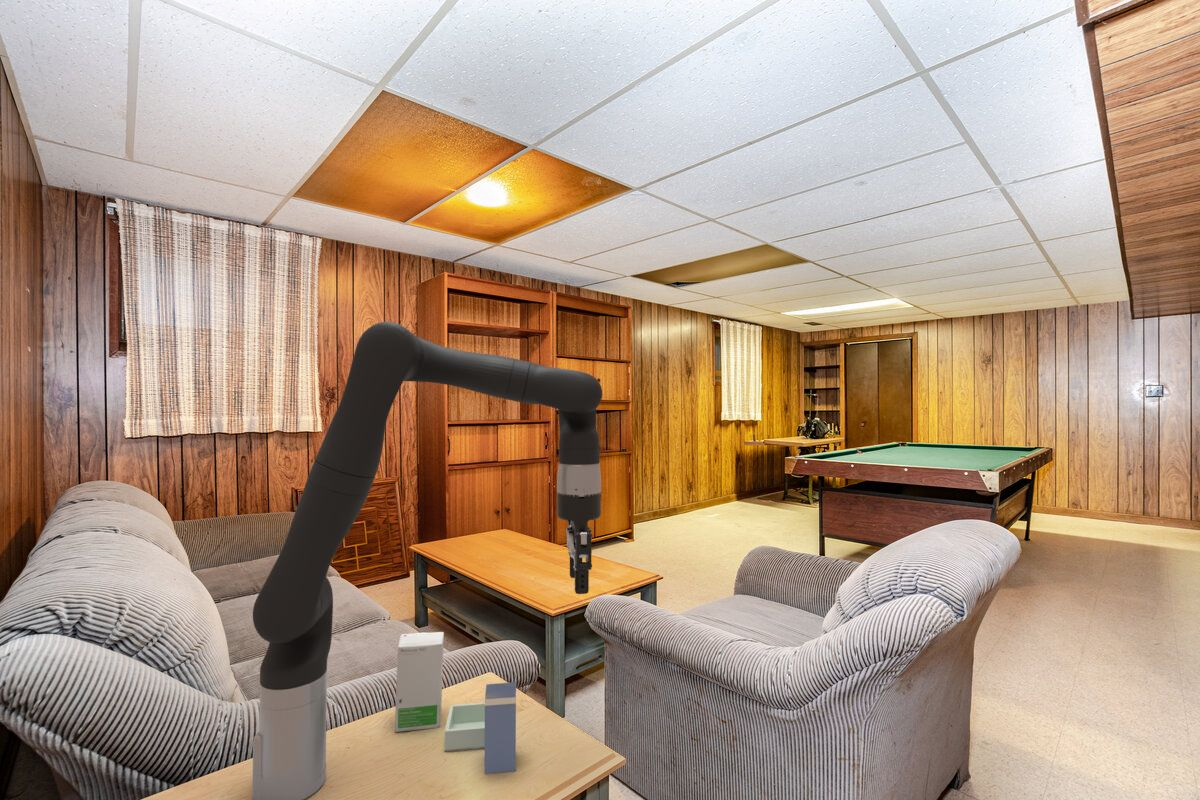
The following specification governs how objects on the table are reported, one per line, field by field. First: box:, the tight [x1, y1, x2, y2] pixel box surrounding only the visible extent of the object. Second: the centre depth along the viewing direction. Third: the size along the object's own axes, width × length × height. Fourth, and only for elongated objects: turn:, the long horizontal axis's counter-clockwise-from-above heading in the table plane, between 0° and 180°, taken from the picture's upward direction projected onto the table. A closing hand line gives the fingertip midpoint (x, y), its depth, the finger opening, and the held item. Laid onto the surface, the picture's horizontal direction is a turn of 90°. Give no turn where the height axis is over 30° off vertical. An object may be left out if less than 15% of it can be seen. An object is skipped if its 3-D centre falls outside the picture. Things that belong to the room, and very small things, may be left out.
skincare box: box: [394, 631, 445, 733], centre depth 104 cm, size 8×7×16 cm
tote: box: [444, 701, 485, 753], centre depth 99 cm, size 10×9×4 cm
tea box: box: [483, 681, 517, 775], centre depth 92 cm, size 5×5×12 cm
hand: (578, 584), depth 93 cm, fingers open, 8 cm apart
